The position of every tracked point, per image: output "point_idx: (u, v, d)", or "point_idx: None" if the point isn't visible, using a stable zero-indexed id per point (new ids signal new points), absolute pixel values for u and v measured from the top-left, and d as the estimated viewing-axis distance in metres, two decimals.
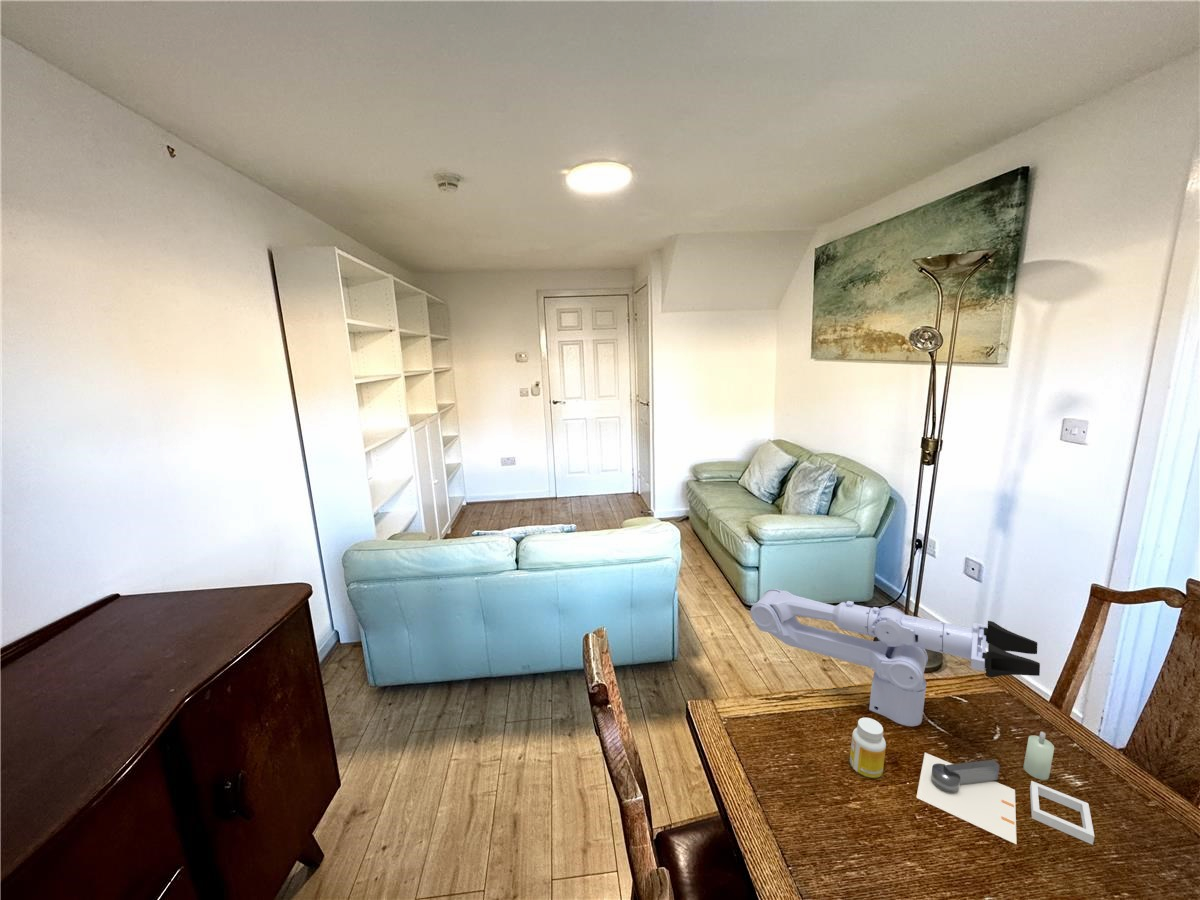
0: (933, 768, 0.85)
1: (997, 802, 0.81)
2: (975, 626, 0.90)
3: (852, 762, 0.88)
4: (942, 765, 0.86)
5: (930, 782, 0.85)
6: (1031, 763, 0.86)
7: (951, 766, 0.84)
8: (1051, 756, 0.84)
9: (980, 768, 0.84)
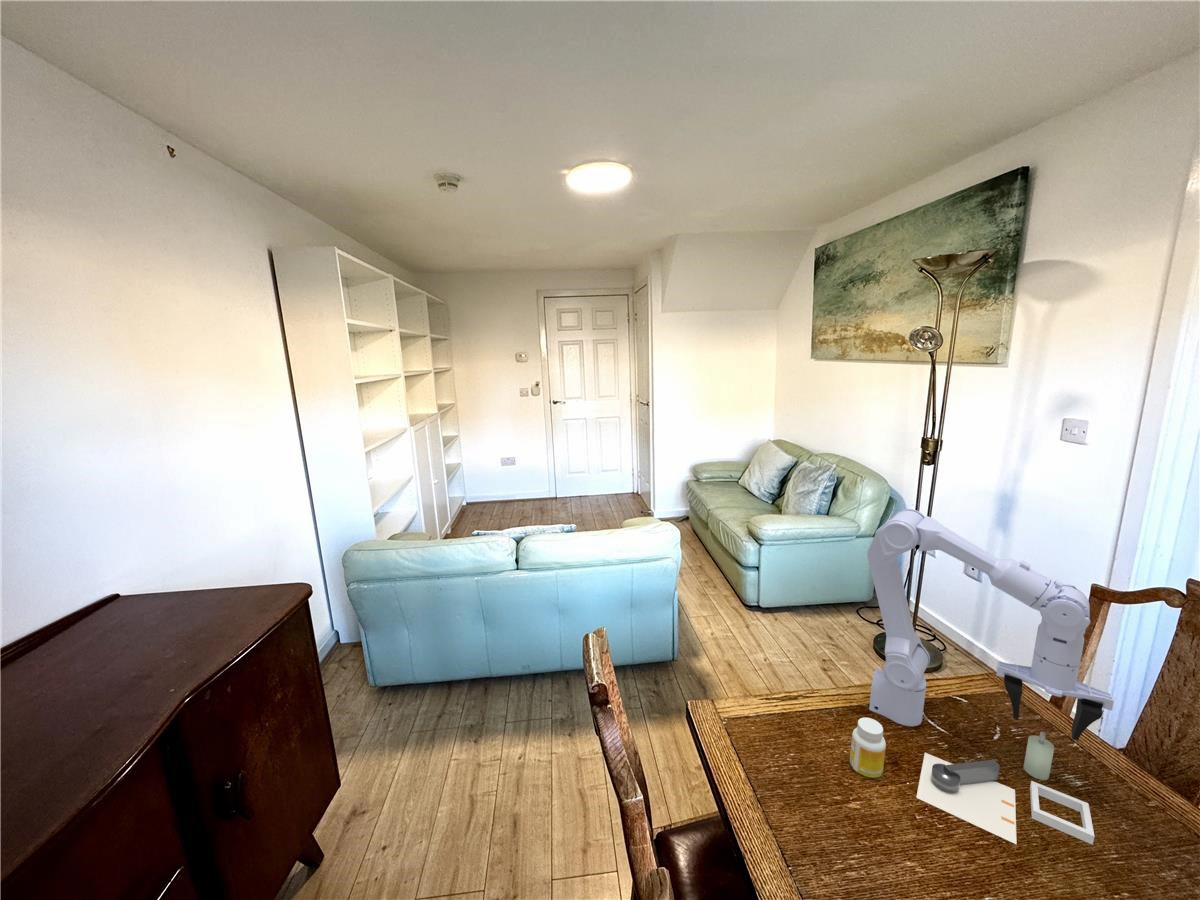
0: (933, 768, 0.85)
1: (997, 802, 0.81)
2: (1049, 692, 0.80)
3: (852, 762, 0.88)
4: (942, 765, 0.86)
5: (930, 782, 0.85)
6: (1031, 763, 0.86)
7: (951, 766, 0.84)
8: (1051, 756, 0.84)
9: (980, 768, 0.84)
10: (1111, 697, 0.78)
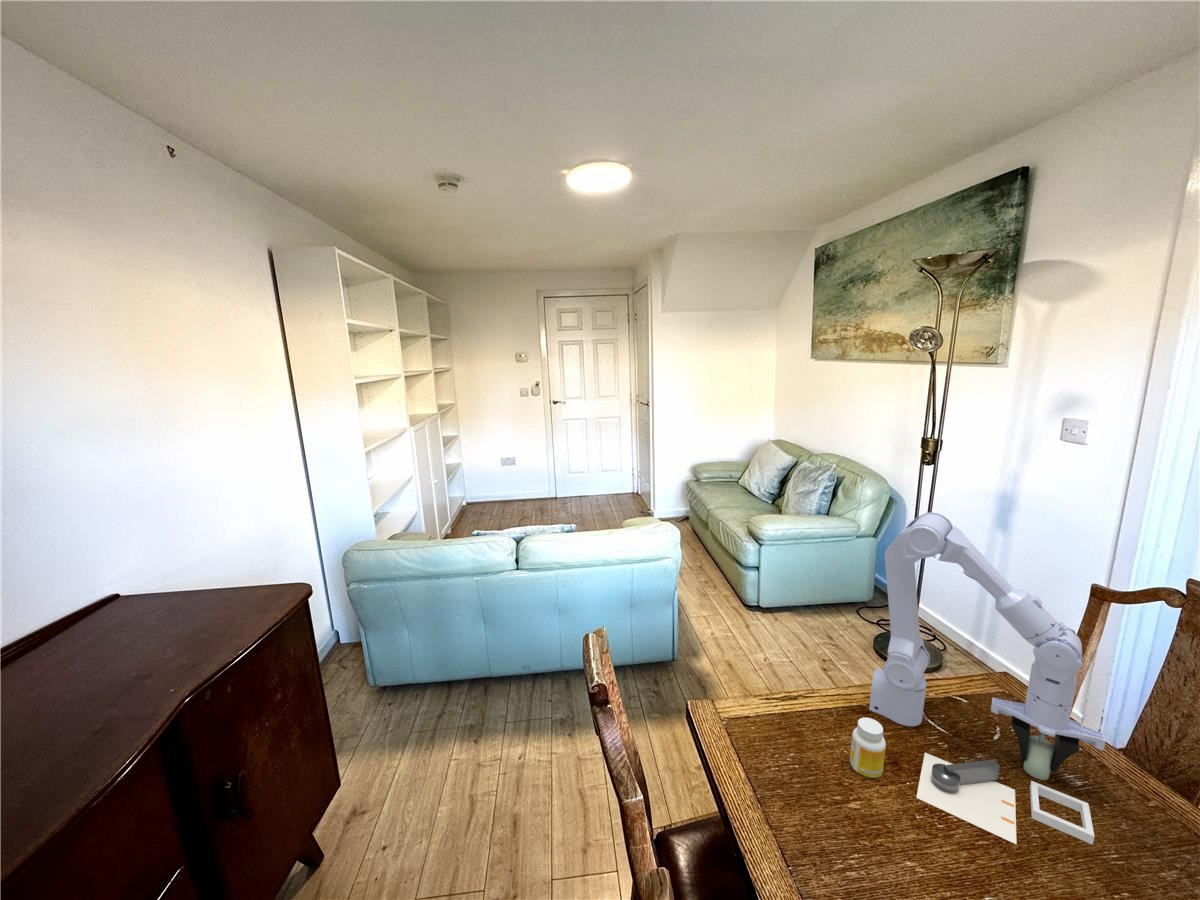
0: (933, 768, 0.85)
1: (997, 802, 0.81)
2: (1042, 731, 0.82)
3: (852, 762, 0.88)
4: (942, 765, 0.86)
5: (930, 782, 0.85)
6: (1031, 763, 0.86)
7: (951, 766, 0.84)
8: (1051, 756, 0.84)
9: (980, 768, 0.84)
10: (1103, 737, 0.80)
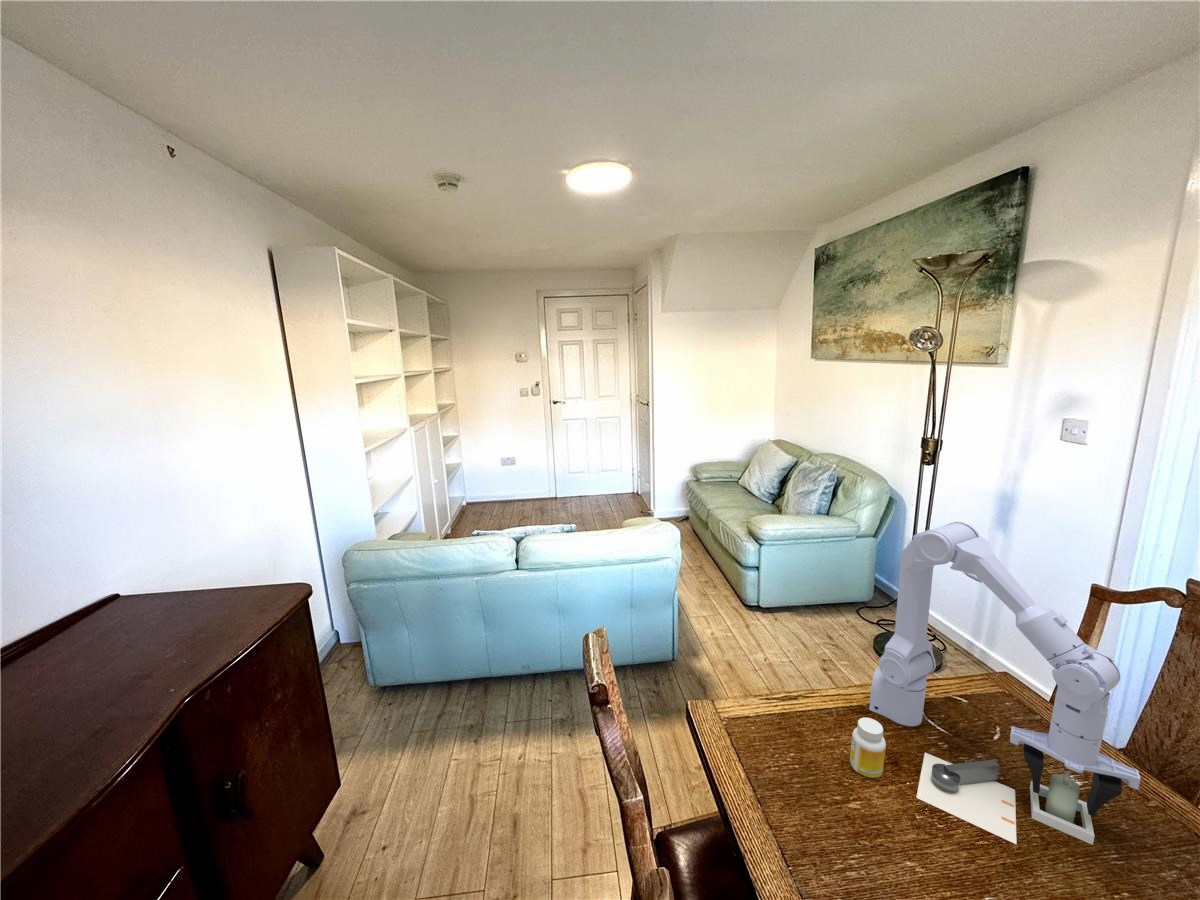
0: (933, 768, 0.85)
1: (997, 802, 0.81)
2: (1068, 767, 0.74)
3: (852, 762, 0.88)
4: (942, 765, 0.86)
5: (930, 782, 0.85)
6: (1054, 805, 0.78)
7: (951, 766, 0.84)
8: (1077, 798, 0.76)
9: (980, 768, 0.84)
10: (1137, 774, 0.72)
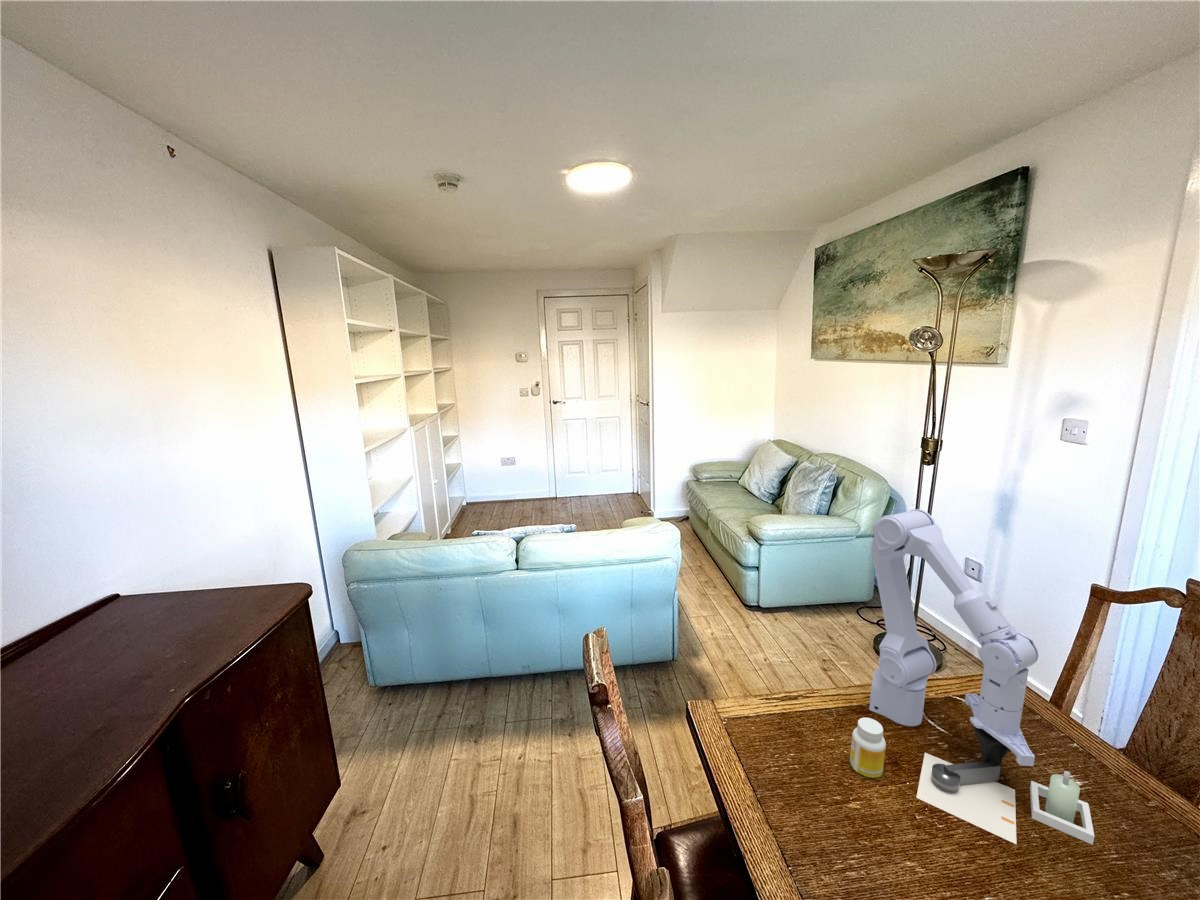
0: (933, 768, 0.85)
1: (997, 802, 0.81)
2: (970, 720, 0.85)
3: (852, 762, 0.88)
4: (942, 765, 0.86)
5: (930, 782, 0.85)
6: (1054, 805, 0.78)
7: (951, 766, 0.84)
8: (1077, 798, 0.76)
9: (981, 769, 0.84)
10: (1026, 755, 0.78)
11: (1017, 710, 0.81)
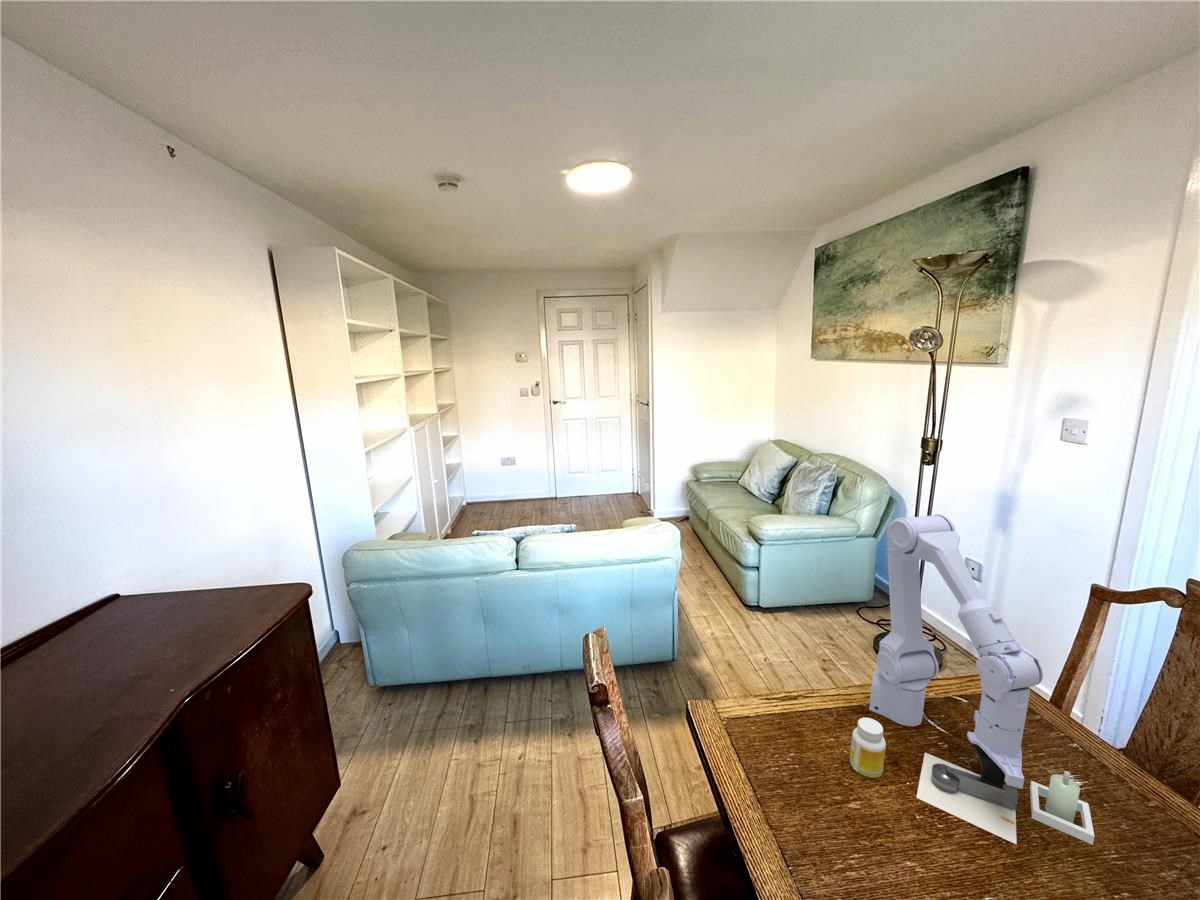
0: (935, 764, 0.86)
1: None
2: (967, 734, 0.82)
3: (852, 762, 0.88)
4: None
5: (930, 782, 0.85)
6: (1054, 805, 0.78)
7: (954, 769, 0.83)
8: (1077, 798, 0.76)
9: (989, 786, 0.80)
10: (1014, 775, 0.74)
11: (1014, 730, 0.77)
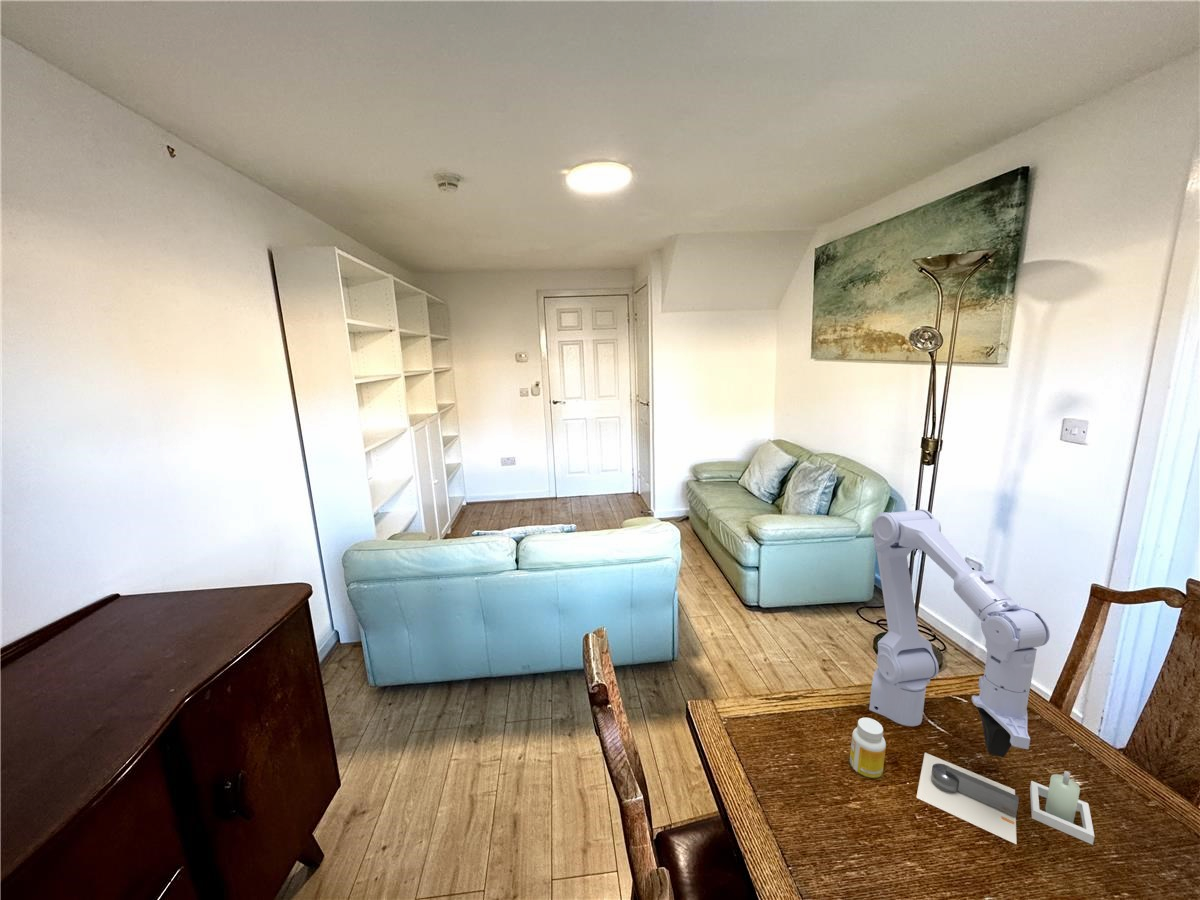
0: (936, 764, 0.86)
1: None
2: (972, 698, 0.81)
3: (852, 762, 0.88)
4: None
5: (930, 782, 0.85)
6: (1054, 805, 0.78)
7: (954, 770, 0.83)
8: (1077, 798, 0.76)
9: (989, 790, 0.80)
10: (1020, 736, 0.72)
11: (1020, 691, 0.75)
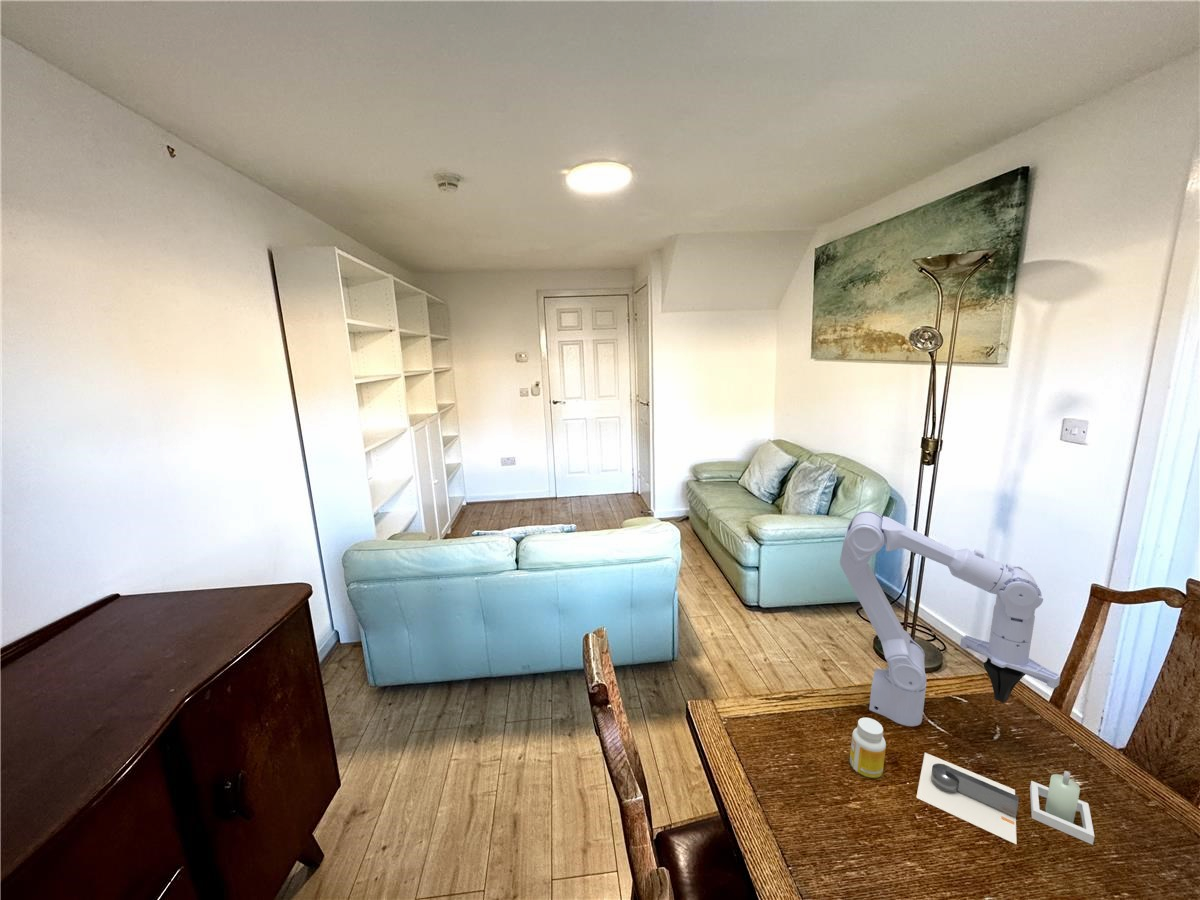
0: (936, 764, 0.86)
1: None
2: (992, 662, 0.88)
3: (852, 762, 0.88)
4: None
5: (930, 782, 0.85)
6: (1054, 805, 0.78)
7: (954, 770, 0.83)
8: (1077, 798, 0.76)
9: (989, 790, 0.80)
10: (1056, 677, 0.83)
11: (1031, 638, 0.87)
